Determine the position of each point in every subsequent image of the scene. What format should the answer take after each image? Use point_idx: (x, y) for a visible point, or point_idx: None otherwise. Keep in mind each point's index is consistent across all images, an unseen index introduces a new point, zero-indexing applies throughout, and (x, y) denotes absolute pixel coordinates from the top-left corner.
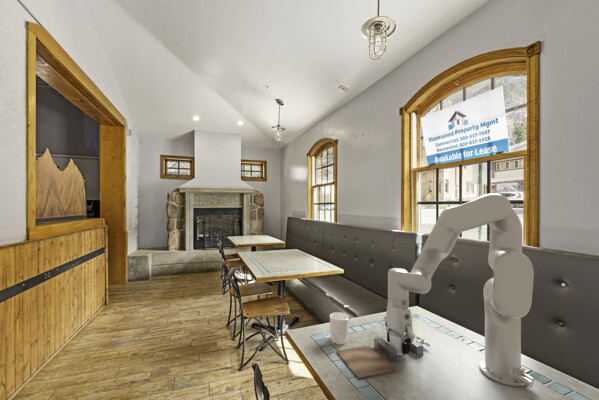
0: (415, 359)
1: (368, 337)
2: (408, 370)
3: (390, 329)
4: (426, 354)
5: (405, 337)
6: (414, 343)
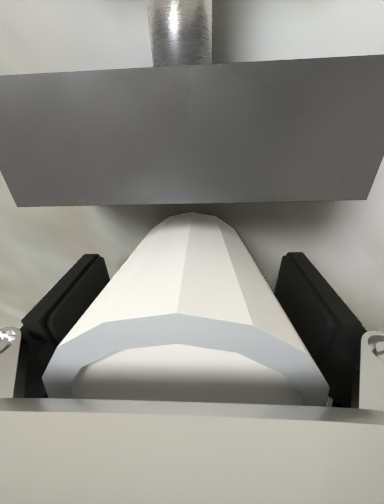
0: (330, 217)
1: (15, 325)
2: (372, 321)
3: (33, 384)
4: (345, 29)
5: (321, 392)
6: (293, 171)
